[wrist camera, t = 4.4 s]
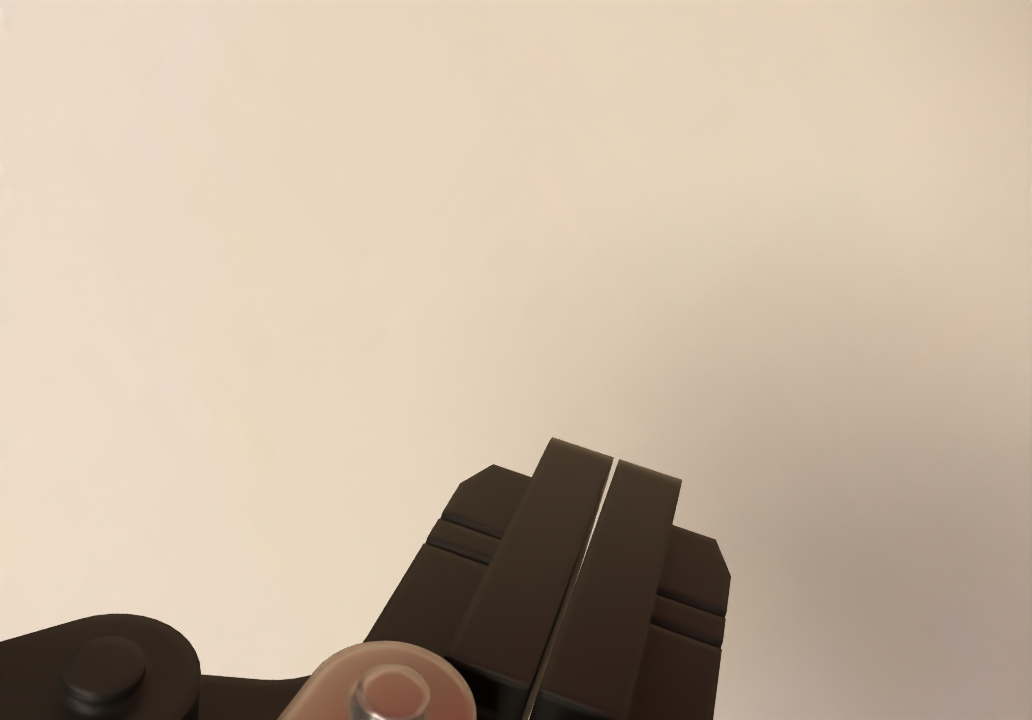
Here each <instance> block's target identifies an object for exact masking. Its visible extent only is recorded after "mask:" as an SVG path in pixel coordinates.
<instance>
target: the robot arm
mask: <svg viewBox="0 0 1032 720" xmlns="http://www.w3.org/2000/svg"><path fill="white" fill-rule="evenodd" d="M613 459H614V457H611V456H607V455H604V454H601V453H598V452H595V451H592V450H589V449H586V448H583V447H580V446H577V445H574V444H571V443H568V442H565V441H562V440H559V439H556V438H553V437H552V438H551V440H550V441H549V443H548V445H547V447H546V449H545V451H544V453H543V455H542V457H541V459H540V462H539V464H538V466H537V468H536V470H535V472H534V474H533V476H532V477H529V476H526V475H523V474H520V473H517V472H514V471H511V470H508V469H505V468H502V467H500V466H497V465H494V464H493V465H491V466H489V467H488V468H486V469H484V470H482V471H481V472H479V473H477V474H476V475H474V476H472V477H470V478H469V479H467V480H465V481H463V482H462V483H460V485H459V486H458V488H457V490H456V491H455V493H454V494H453V496H452V498H451V499H450V501H449V503H448V504H447V506H446V508H445V509H444V511H443V513H442V516H441V518H440V519H438V521H437V522H436V524H435V526H434V527H433V529H432V531H431V532H430V534H429V536H428V538H427V541H426V543H425V544H423V545H422V547H421V549H420V550H419V552H418V554H417V555H416V557H415V559H414V560H413V562H412V563H411V565H410V567H409V568H408V570H407V572H406V573H405V575H404V577H403V578H402V580H401V582H400V583H399V585H398V586H397V588H396V590H395V591H394V593H393V595H392V596H391V598H390V600H389V601H388V603H387V605H386V606H385V608H384V610H383V611H382V613H381V614H380V616H379V618H378V619H377V621H376V623H375V624H374V626H373V628H372V629H371V631H370V633H369V634H368V636H367V637H366V639H365V640H364V641H363V643H360V644H356V645H353V646H350V647H347V648H345V649H343V650H341V651H339V652H337V653H335V654H333V655H332V656H331V657H329V658H328V659H326V660H325V661H324V662H323V663H322V664H321V665H320V666H319V667H318V668H317V669H316V670H315V671H314V672H313V673H312V675H309V676H305V677H300V678H295V679H285V680H259V679H247V678H236V677H224V676H213V675H201V670H200V662H199V659H198V657H197V654H196V651H195V650H194V648H193V647H192V645H191V644H190V642H189V641H188V640H187V639H186V638H185V637H184V636H183V635H182V634H181V633H180V632H178V631H177V630H175V629H174V628H172V627H171V626H169V625H167V624H165V623H163V622H160V621H158V620H156V619H152V618H148V617H145V616H139V615H132V614H105V615H96V616H91V617H87V618H83V619H78V620H75V621H71V622H68V623H64V624H61V625H57V626H54V627H50V628H47V629H43V630H40V631H36V632H33V633H29V634H26V635H22V636H19V637H15V638H12V639H8V640H5V641H2V642H0V720H528V719H529V720H713V715H714V707H715V699H716V692H717V684H718V676H719V668H720V660H721V652H722V649H721V645H722V642H723V636H724V628H725V620H726V619H725V615H726V612H727V604H728V597H729V589H730V581H731V575H730V573H729V570H728V568H727V566H726V563H725V561H724V558H723V556H722V554H721V551H720V549H719V546H718V544H717V541H716V540H715V539H712V538H709V537H706V536H703V535H701V534H698V533H695V532H692V531H689V530H686V529H683V528H680V527H677V526H674V525H672V523H673V518H674V514H675V510H676V505H677V501H678V497H679V492H680V488H681V483H682V480H681V479H678V478H675V477H672V476H669V475H666V474H663V473H659V472H656V471H653V470H650V469H647V468H644V467H641V466H638V465H635V464H632V463H629V462H626V461H623V460H620V459H619V461H618V464H617V467H616V470H615V473H614V475H613V478H612V481H611V484H610V487H609V490H608V492H607V495H606V498H605V501H604V504H603V507H602V510H601V512H600V515H599V518H598V521H597V524H596V527H595V529H594V532H593V535H592V538H591V541H590V544H589V547H588V549H587V552H586V555H585V558H584V554H585V551H586V548H587V545H588V541H589V538H590V535H591V532H592V528H593V525H594V522H595V519H596V515H597V512H598V509H599V506H600V502H601V499H602V496H603V493H604V489H605V486H606V483H607V480H608V476H609V473H610V470H611V466H612V463H613ZM583 558H584V561H583ZM582 561H583V564H582ZM581 564H582V566H581ZM580 567H581V569H580ZM579 571H580V572H579ZM578 574H579V575H578ZM577 577H578V578H577ZM576 580H577V581H576ZM533 704H534V705H533ZM532 707H533V708H532ZM531 710H532V712H531ZM530 713H531V715H530ZM529 716H530V718H529Z"/></svg>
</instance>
